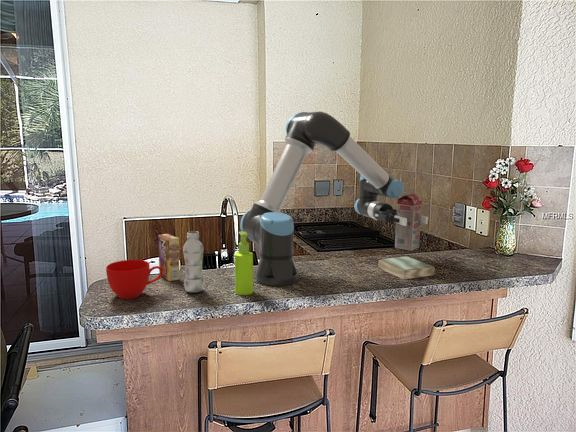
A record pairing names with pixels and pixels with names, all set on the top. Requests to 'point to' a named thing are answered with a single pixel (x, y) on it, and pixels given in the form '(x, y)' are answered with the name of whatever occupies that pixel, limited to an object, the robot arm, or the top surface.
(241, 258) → the soap dispenser
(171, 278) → the candy box
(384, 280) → the top surface
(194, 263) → the plastic bottle
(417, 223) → the juice carton
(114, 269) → the ceramic cup
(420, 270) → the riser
